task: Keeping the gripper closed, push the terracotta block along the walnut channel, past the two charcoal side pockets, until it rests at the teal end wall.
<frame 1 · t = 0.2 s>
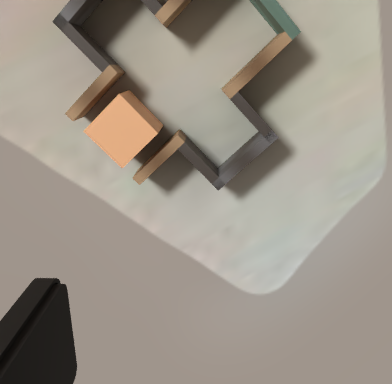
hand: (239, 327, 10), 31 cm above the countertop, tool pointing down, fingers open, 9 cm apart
trap channel: (173, 80, 38), on the countertop
block: (130, 124, 39), on the countertop
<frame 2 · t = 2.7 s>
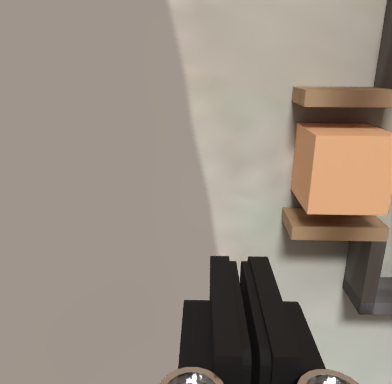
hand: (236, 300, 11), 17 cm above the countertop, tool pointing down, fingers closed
block: (327, 157, 27), on the countertop
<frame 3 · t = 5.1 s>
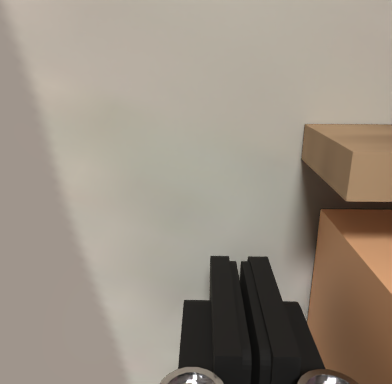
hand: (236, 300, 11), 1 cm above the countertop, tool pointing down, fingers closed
block: (390, 281, 12), on the countertop, touching gripper
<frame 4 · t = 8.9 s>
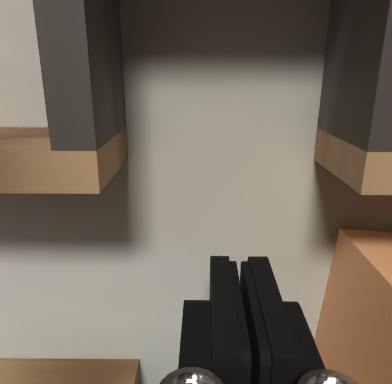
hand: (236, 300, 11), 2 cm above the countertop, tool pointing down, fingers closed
trap channel: (218, 269, 13), on the countertop
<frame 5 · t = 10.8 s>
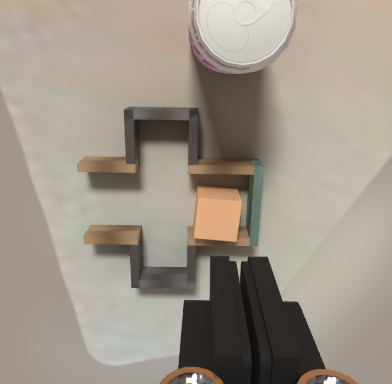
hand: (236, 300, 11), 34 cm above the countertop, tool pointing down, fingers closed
trap channel: (164, 196, 46), on the countertop
block: (215, 205, 47), on the countertop
supplement can: (226, 34, 40), on the countertop
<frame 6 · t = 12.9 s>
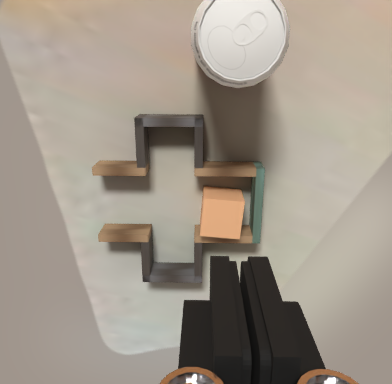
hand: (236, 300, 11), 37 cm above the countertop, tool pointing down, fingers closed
trap channel: (172, 197, 49), on the countertop
block: (220, 204, 50), on the countertop
supplement can: (229, 46, 43), on the countertop
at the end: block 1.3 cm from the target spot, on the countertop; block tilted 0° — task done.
